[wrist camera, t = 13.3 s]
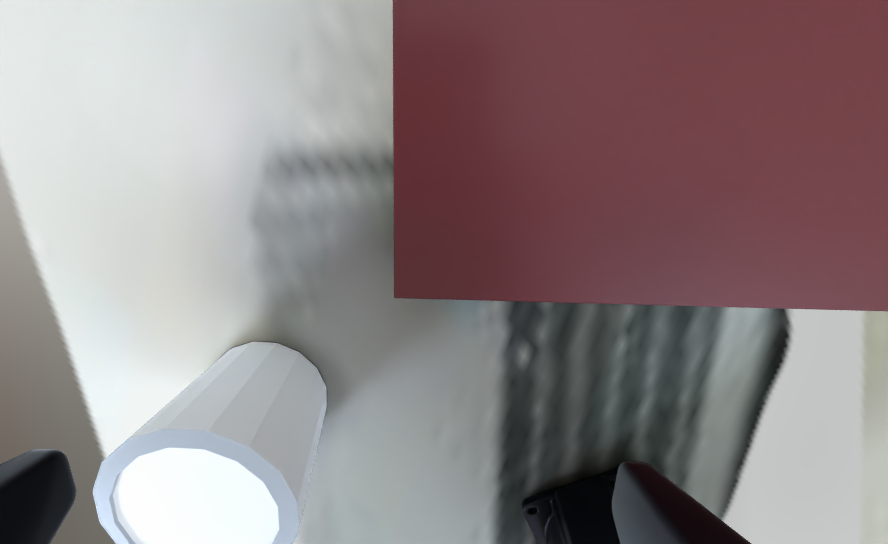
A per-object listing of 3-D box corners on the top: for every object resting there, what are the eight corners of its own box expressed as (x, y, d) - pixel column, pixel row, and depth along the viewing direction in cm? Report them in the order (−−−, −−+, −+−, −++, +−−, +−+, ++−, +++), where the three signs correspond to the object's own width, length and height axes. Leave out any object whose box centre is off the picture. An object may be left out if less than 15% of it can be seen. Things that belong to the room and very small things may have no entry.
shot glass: (283, 303, 21) (210, 396, 14) (368, 415, 23) (338, 543, 16) (164, 370, 22) (44, 485, 15) (254, 472, 24) (183, 612, 17)
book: (878, 284, 21) (948, 313, 18) (400, 271, 20) (394, 298, 17) (1034, -137, 16) (1166, -191, 13) (401, -164, 15) (391, -226, 12)
